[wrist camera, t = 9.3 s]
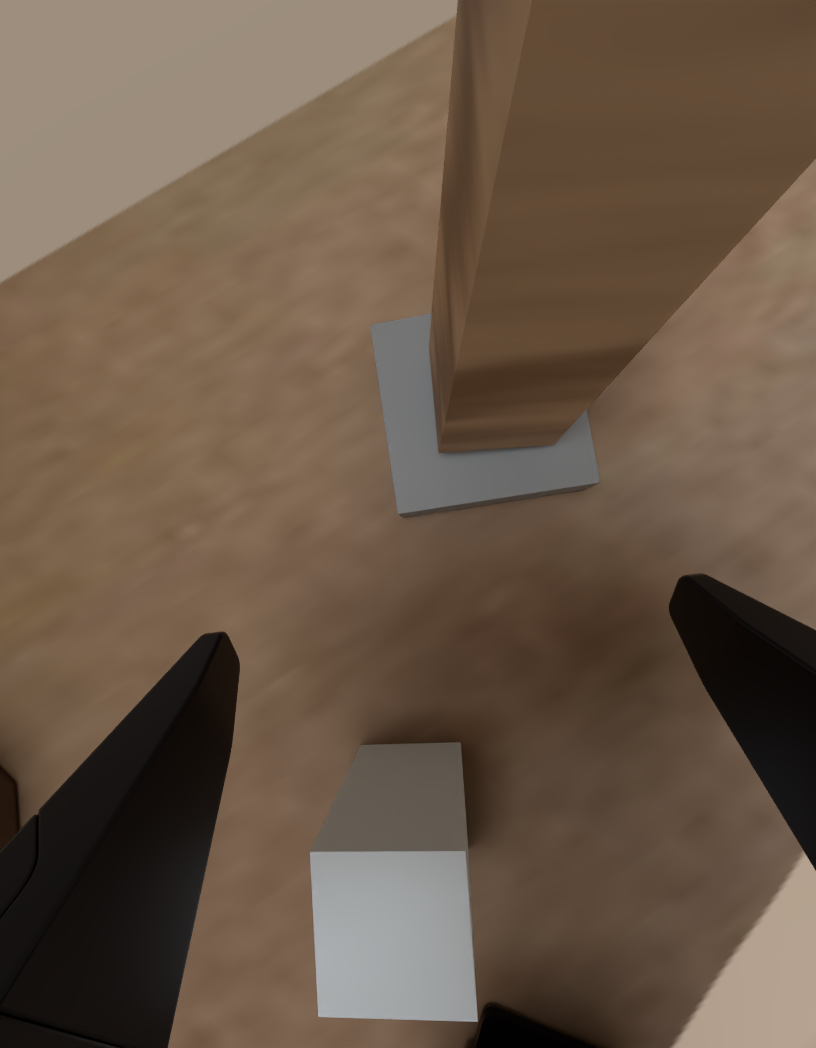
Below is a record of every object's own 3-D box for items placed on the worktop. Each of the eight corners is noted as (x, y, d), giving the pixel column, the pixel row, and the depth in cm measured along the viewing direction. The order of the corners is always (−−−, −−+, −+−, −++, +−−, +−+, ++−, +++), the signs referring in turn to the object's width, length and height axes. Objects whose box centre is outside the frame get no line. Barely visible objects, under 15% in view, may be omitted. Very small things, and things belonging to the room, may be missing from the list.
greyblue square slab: (580, 491, 23) (600, 482, 20) (404, 518, 23) (397, 514, 20) (550, 321, 23) (564, 287, 20) (380, 353, 24) (370, 325, 21)
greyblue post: (460, 742, 22) (465, 851, 14) (468, 848, 22) (477, 1021, 14) (360, 744, 22) (310, 851, 14) (366, 849, 22) (318, 1017, 14)
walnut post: (553, 444, 19) (1026, -74, 5) (438, 453, 19) (541, -48, 4) (539, 339, 20) (895, -379, 5) (428, 347, 20) (488, -360, 5)
